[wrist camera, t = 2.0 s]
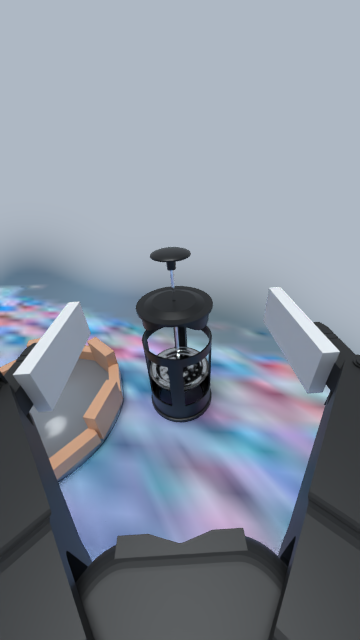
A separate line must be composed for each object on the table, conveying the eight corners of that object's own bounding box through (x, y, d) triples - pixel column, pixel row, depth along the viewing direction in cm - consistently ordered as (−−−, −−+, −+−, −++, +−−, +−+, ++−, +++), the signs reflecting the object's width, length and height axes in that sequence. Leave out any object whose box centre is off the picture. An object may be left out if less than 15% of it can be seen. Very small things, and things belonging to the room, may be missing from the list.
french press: (213, 427, 31) (222, 268, 18) (146, 426, 32) (108, 272, 19) (208, 365, 41) (212, 232, 28) (157, 365, 42) (137, 236, 29)
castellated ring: (-100, 475, 28) (-137, 453, 25) (37, 350, 47) (26, 328, 44) (63, 529, 23) (41, 510, 20) (144, 364, 42) (139, 341, 39)
